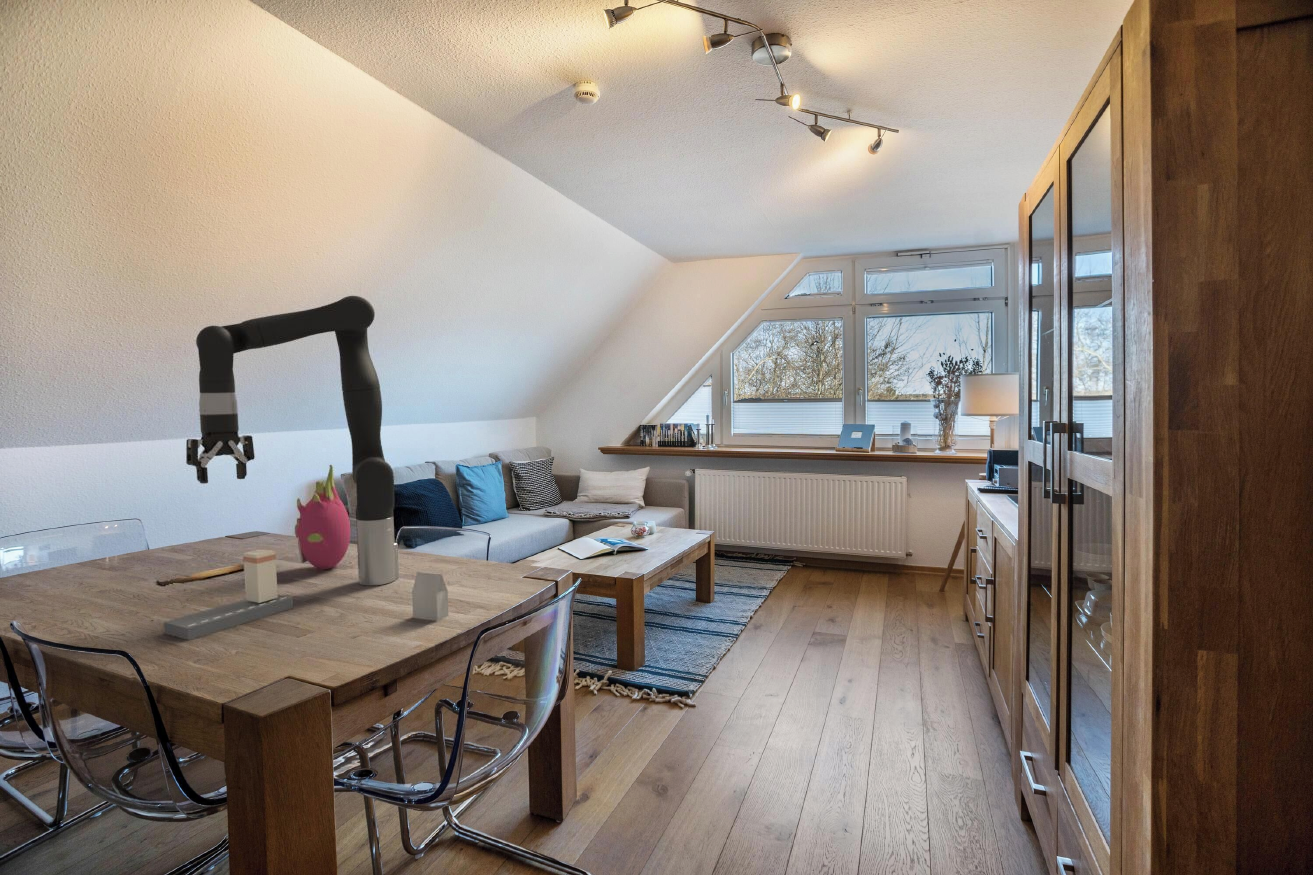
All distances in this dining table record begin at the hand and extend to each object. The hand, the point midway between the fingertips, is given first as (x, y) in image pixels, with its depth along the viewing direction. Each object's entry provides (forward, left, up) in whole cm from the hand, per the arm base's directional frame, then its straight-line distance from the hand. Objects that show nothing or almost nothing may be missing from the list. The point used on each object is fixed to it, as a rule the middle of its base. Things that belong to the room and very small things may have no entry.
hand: (223, 481), depth 160 cm
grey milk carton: (-15, +50, -30) cm, 60 cm away
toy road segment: (+6, +11, -30) cm, 33 cm away
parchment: (-15, -35, -31) cm, 49 cm away
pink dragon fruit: (-33, -10, -30) cm, 46 cm away
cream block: (-1, +11, -27) cm, 29 cm away
